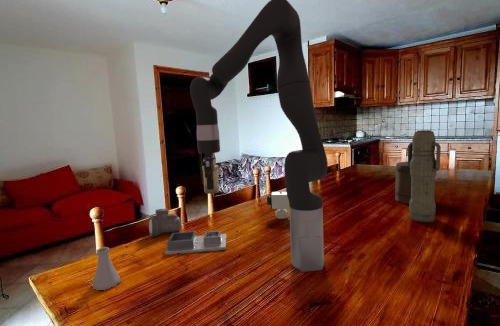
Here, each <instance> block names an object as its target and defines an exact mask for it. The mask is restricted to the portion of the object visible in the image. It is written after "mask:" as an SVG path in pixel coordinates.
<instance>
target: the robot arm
mask: <svg viewBox="0 0 500 326" xmlns="http://www.w3.org/2000/svg"><path fill="white" fill-rule="evenodd" d="M301 27H302V26H301V19H300V16H299V13H298V12H297V10H296V9H295V8H294V7H293V5H292V4H291V3H290V2H289V0H269V1H268V2H267V3H266V4H265V5H264V6H263V7H262V9H261V10H260V11H259V12H258V14H257V15H256V17H254V19H253V21H252V22H251V23H250V24H249V26H248V27H247V28H246V30H245V31H244V32H243V34H241V36H240V38H238V40H237V41H236V42H235V44H233V46H231V48H230V49H229V50H228V51H227V52H226V53H224V54H223V56H221V58H219V60H217V61H216V62H215V63H214V65H212V68H211V73H212V74H211V75H210V76H208V77H205V76H197V77H194V78H193V79H192V80H191V82H190V86H189V94H190V98H191V102H192V105H193V108H194V111H195V117H196V142H197V144H196V145H197V153H198V154H203V155H204V158H203V159H202V162H203V163H202V164H203V166H204V171H205V178H206V179H207V189H208V190H213V189H214V182H213V177H214V176H213V172H214V171H215V168H214V167H215V165H217V164H216V162H217V159H216V156H215V155H214V154H217V153H220V152H221V143H220V142H221V141H220V130H219V125H218V124H219V123H218V122H219V121H218V120H219V119H218V110H217V109H216V108H215V107H214V106H212V102H211V100H214V99H216V98H217V97H219V96H220V95H221V94H222V92H223V91H224V90H225V88H226V87H227V85H228V83H230V82H231V81H232V80H233V79H235V77H236V76H237V75H239V74H240V73H241V72H242V71H243V70H244V69H245V68H246V66H247V65H248V63H249V61H250V59H251V57H252V56H253V54H254V52H255V50H256V49H257V48H258V47H259V45H260V44H261V43H263V42H264V41H265V40H266V39H267V38H269V37H270V36H272V37H273V39H274V42H275V45H276V49H277V54H278V63H279V64H278V69H277V70H278V71H277V77H276V89H277V95H278V100H279V106H280V108H281V110H282V112H283V114H284V115H285V117H286V118H287V119H288V120H289V122H290V123H291V125H292V126H293V128H294V129H295V131H296V132H297V134H298V136H299V139H300V144H301V149H299V150H292V151H289V152H288V153H287V154H286V156H285V159H284V168H283V169H284V180H285V192H286V193H287V197H288V200H289V209H288V210H289V233H290V254H291V255H290V257H291V258H290V259H291V261H290V262H291V266H292V267H293V268H295V269H298V270H299V271H300V272H301V273H304V272H314V271H315V272H316V271H323V268H324V264H325V263H324V262H325V257H324V255H325V254H324V253H325V252H324V223H323V222H324V220H323V219H324V216H323V209H324V208H323V205H324V204H323V197H322V196H321V194H318V193H315V192H311V187H310V183H311V182H317V181H320V180H323V179H324V178H325V177H326V175H327V173H328V170H329V169H328V167H329V164H328V157H327V154H326V151H325V147H324V143H323V140H322V137H321V133H320V129H319V124H318V120H317V114H316V112H315V106H314V101H313V92H312V87H311V82H310V78H309V73H308V68H307V64H306V59H305V56H304V52H303V51H304V50H303V43H302V42H303V41H302V29H301ZM212 167H213V168H212ZM207 172H211V174H207Z"/></svg>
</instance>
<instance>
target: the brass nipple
mask: <svg viewBox="0 0 500 326" xmlns="http://www.w3.org/2000/svg"><path fill="white" fill-rule="evenodd" d="M212 168H213V167H212ZM214 168H215V171H214V172H213V176H214V177H213V182H214V189H213V190H208V189H207V179H206V178H205V171H204V165H202V167H201V170H202V174H203V189H204V191H203V192H204V194H208V195H209V194H210V195H211V194H218V193H219V192H220V187H219V185H220V184H219V165H217V164H216V165H215V167H214ZM207 174H211V172H207Z"/></svg>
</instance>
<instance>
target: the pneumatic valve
mask: <svg viewBox="0 0 500 326" xmlns="http://www.w3.org/2000/svg"><path fill="white" fill-rule="evenodd" d="M266 205H267V206H269V208H270V210H273V209H275V210H276V211H275V212H274V213H275V215H274V216H275V217H276V219H278V220H281V219H282V220H283V219H284V220H285V219H286V218H288V217H289V213H288V210H289V200H288V197H287V193H286V191H282V190H279V191H271V192H270V194H268V195H267V197H266Z"/></svg>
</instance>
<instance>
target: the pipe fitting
mask: <svg viewBox="0 0 500 326" xmlns="http://www.w3.org/2000/svg"><path fill="white" fill-rule="evenodd" d="M154 211H155V215H150V216H149V219H148V232H149V236H151V238H154V237H157V236H159V234H165V233H178V232H180V231H181V229H182V219H181V217H179V216H178V215H177V214H176V213H170V210H169V209H168V208H157V209H155V210H154Z"/></svg>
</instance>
